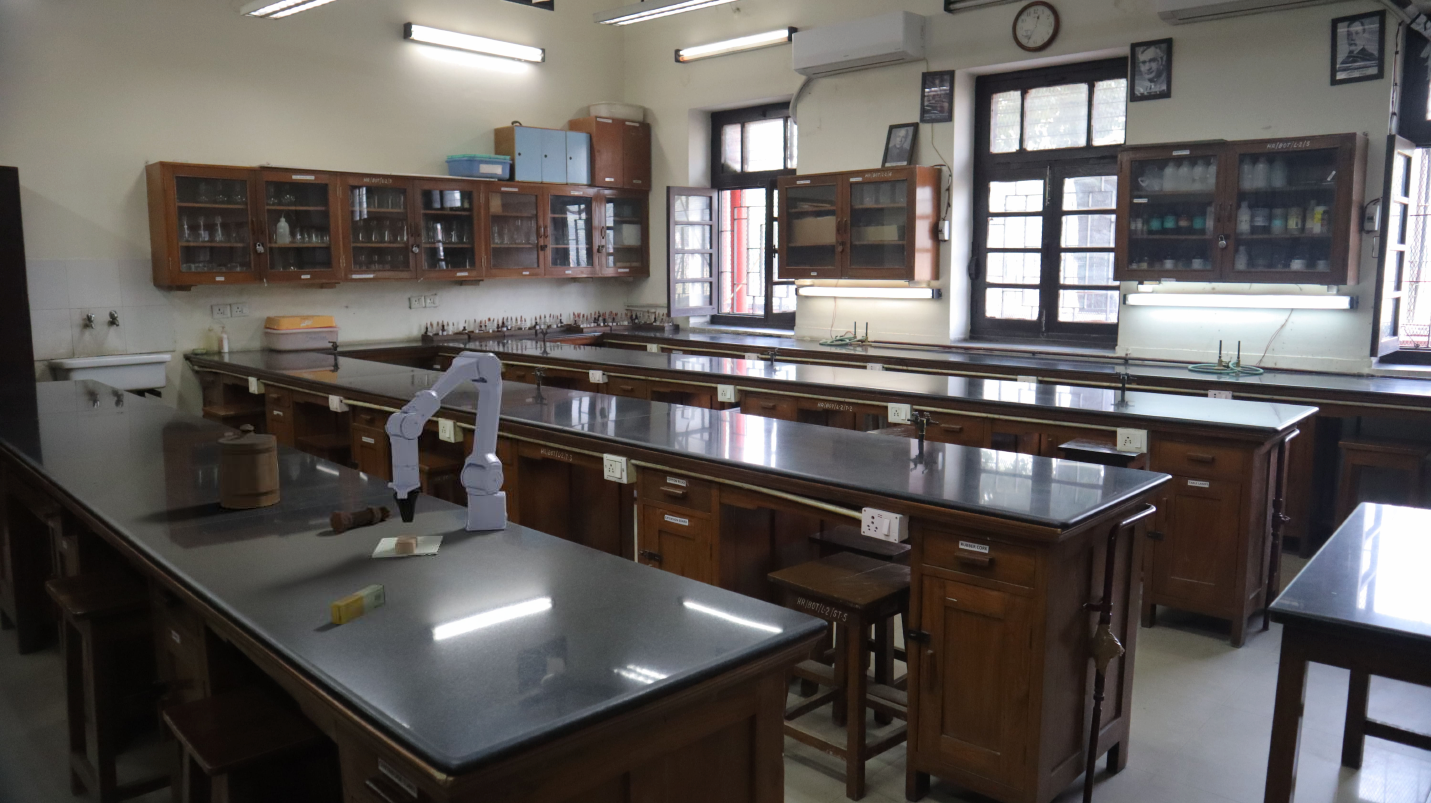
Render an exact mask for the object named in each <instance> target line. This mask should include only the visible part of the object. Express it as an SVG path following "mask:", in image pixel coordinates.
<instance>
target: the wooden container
mask: <svg viewBox="0 0 1431 803" xmlns="http://www.w3.org/2000/svg"><path fill="white" fill-rule="evenodd" d="M254 429H255V428H254V426H253V425H251V424H249V423H247V424H242V425H241V426H240V427H239V431H240V433H239V434H238V435H231V436H226V437H221V438H219V439H218V440H217V451H218V453H217V454H218V480H219V494H220V495H219V497H220V498H219V499H220V506H221V507H222V508H224V507H225V509H229V508H230V509H231V510H249V508H252V509H257V508H258V507H260V508H264V506H265V507H269V506H272V504H273V505H275V504H277V503H279V502H280V500H281V494H280V493H281V491H280V476H279V473H280V472H279V465H278V452H277V448H278V446H277V443H278V442H277V436H276V435H273V434H266V433H265V434H264V433H262V434H261V433H259V434H258V433H254ZM258 509H259V508H258Z"/></svg>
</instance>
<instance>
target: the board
mask: <svg viewBox="0 0 1431 803" xmlns="http://www.w3.org/2000/svg"><path fill="white" fill-rule="evenodd" d="M397 539H398V537H383V538H381V540H380V542H379V543H378V545H377V546H376V548H375V550H374V551H373V553H372V554H371V559H375V558H377V559H378V558H391V557H392V558H394V557H395V558H397V557H408V556H407V555H421V556H432V555H431V554H437V555H438V552H439V550H438V549H440V547H441V544H442V542H441V541H443V539H444V535H428V536H427V535H425V536H424V535H423V536H417V540H418V545H417V547H416V550H415V552H414V553H412V554H395V543H396V541H397ZM439 546H440V547H439ZM437 551H438V552H437ZM426 554H428V555H426Z"/></svg>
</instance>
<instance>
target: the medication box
mask: <svg viewBox="0 0 1431 803" xmlns="http://www.w3.org/2000/svg"><path fill="white" fill-rule="evenodd" d="M385 591H386V590H385V585H384V584H378V583H374V584H371V585H369V586H367V587H365V588H363V589H360V590H358V591H356V592H354V593H351V594H350V595H347V596H345V597H343V598H341V599H338V600H336V601H334V602H331V603H330V614H331V624H337V625H345V624H347V623H350V622H351V621H353V620H356V619H357V618H360V617H362V616H363V615H366V614H368V613H370V612H373V611H375V610H377V609H378V608H380V607H383V606H384V605H386V604H387V603H386V593H385Z"/></svg>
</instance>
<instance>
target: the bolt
mask: <svg viewBox="0 0 1431 803" xmlns="http://www.w3.org/2000/svg"><path fill="white" fill-rule="evenodd" d="M390 516H391V510H390V509H389V508H388V507H387V506H385V505H384V506H379V507H378V506H376V505H368V506H366V508H365V509H364V510H359V511H354V512H348V513H346V512H345V511H343V510H342V511H341V510H335V511H333V512H332V513H331V515H330V517H329V518H330V519H329V520H330V527H331V529H332V530H333V531H334V532H337V533H345V532H347V529H348V528H349V527H352V526H357V525H361V524H367V523H368V524H371V525H375V524H379V522H380V521H381V520H385V519H388V518H389V517H390Z"/></svg>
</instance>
